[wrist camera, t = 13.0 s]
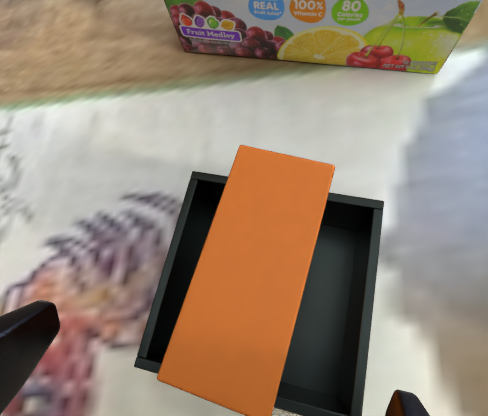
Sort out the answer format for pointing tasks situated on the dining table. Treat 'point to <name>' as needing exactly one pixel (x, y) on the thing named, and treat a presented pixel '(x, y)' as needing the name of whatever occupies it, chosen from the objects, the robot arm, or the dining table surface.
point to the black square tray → (311, 306)
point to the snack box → (327, 30)
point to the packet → (249, 282)
